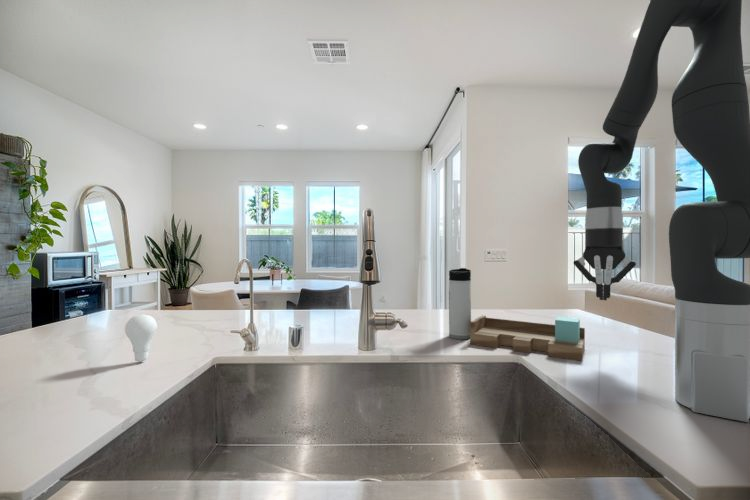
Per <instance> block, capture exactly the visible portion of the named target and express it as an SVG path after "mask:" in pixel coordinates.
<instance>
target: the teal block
mask: <svg viewBox="0 0 750 500" xmlns="http://www.w3.org/2000/svg"><path fill="white" fill-rule="evenodd" d="M580 321H581V319H580V318H576V317H567V316H566V317H565V316H556V317H555V320H554V325H555V340H559V341H567V342H575V343H578V342H579V339H580V328H581V327H580V325H581V324H580Z"/></svg>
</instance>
